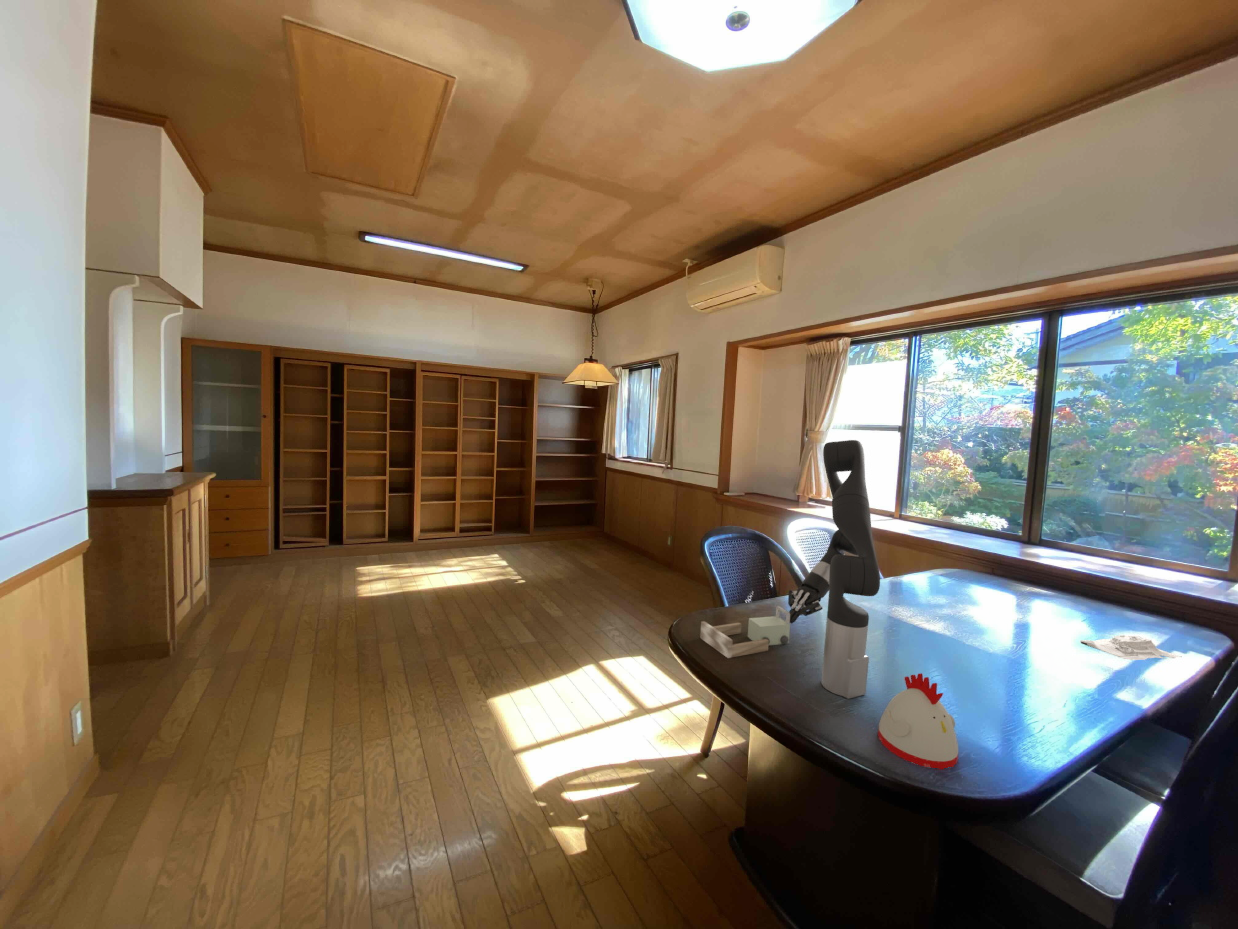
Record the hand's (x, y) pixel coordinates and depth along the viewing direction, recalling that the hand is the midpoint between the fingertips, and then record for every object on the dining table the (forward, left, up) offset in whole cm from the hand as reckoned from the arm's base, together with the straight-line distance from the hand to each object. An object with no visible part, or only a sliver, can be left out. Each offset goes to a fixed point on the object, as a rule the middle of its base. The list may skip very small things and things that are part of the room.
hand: (788, 621), depth 152 cm
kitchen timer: (-51, +14, -5) cm, 53 cm away
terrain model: (-44, -100, -5) cm, 109 cm away
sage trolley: (-1, +9, -5) cm, 10 cm away
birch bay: (0, +20, -4) cm, 21 cm away
